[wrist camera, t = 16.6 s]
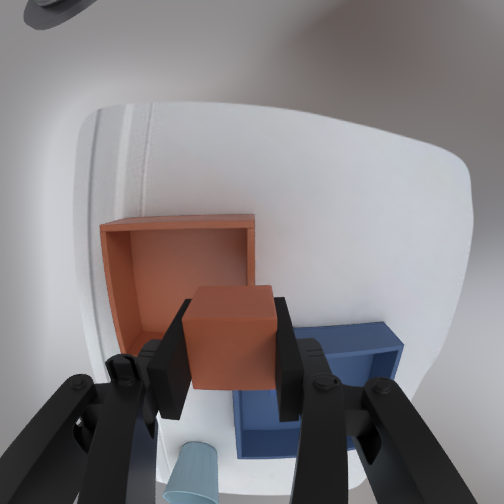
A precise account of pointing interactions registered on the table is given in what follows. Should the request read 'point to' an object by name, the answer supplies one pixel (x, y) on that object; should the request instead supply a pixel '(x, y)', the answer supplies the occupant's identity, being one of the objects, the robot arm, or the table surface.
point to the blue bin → (341, 364)
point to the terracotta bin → (170, 267)
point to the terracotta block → (231, 338)
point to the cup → (194, 476)
